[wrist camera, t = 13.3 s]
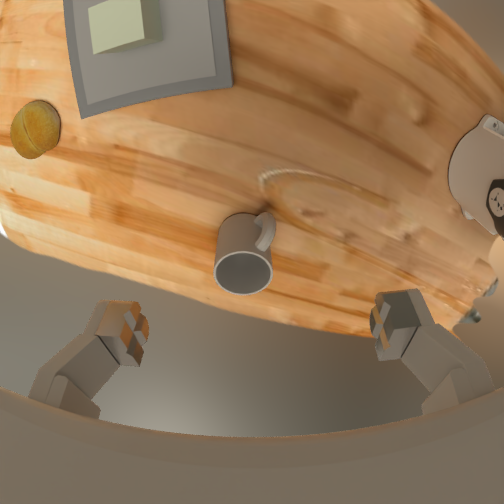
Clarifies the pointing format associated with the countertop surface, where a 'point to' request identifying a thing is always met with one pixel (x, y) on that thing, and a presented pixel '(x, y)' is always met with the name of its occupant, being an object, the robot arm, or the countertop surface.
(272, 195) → the countertop surface
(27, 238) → the countertop surface
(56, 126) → the bread roll
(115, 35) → the sage block
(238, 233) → the cup
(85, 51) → the tray
